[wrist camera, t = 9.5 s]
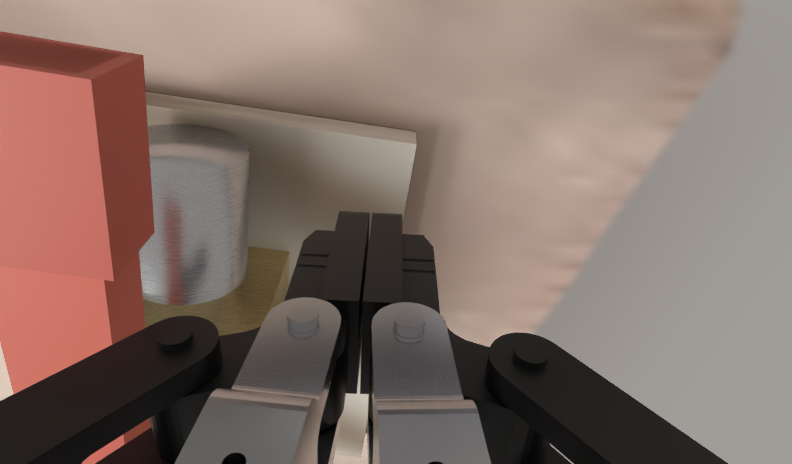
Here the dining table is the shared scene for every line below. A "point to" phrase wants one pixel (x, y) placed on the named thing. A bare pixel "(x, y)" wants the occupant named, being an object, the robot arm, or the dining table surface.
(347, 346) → the robot arm
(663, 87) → the dining table surface
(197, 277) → the valve body
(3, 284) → the valve lever
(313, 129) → the mounting board
